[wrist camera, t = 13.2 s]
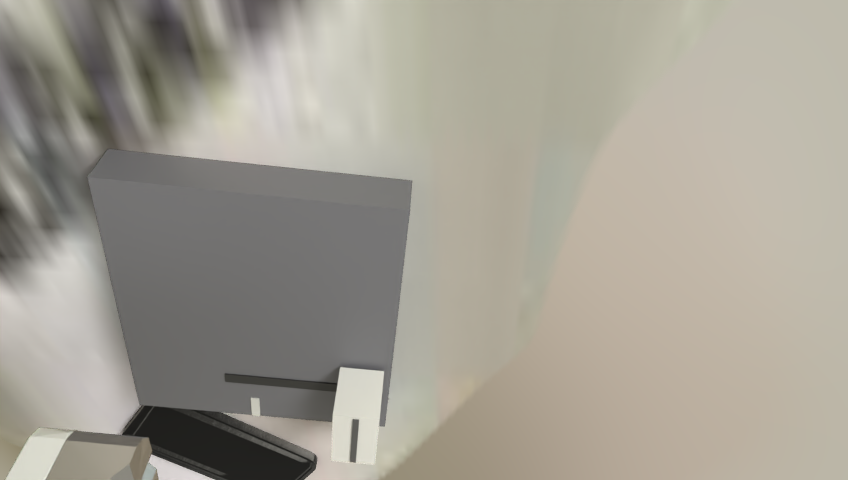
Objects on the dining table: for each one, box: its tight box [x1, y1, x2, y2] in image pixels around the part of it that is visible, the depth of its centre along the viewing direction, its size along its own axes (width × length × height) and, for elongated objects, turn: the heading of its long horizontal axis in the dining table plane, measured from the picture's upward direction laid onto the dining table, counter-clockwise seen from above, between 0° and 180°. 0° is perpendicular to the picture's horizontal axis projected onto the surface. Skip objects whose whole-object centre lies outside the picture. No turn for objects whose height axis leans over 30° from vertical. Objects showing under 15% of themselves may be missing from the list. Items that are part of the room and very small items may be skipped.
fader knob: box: [331, 367, 384, 465], centre depth 48 cm, size 3×5×4 cm, turn 174°
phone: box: [122, 405, 317, 480], centre depth 59 cm, size 8×1×15 cm
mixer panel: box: [87, 149, 412, 427], centre depth 47 cm, size 18×20×3 cm
